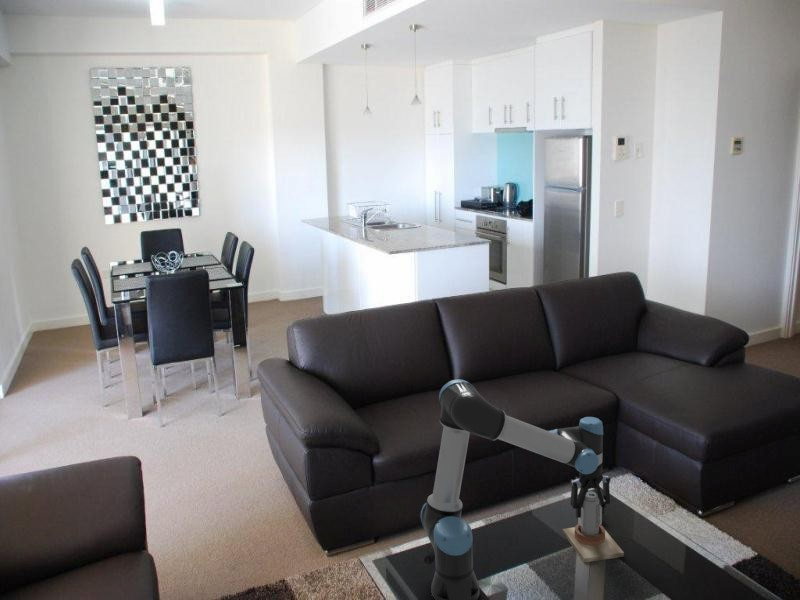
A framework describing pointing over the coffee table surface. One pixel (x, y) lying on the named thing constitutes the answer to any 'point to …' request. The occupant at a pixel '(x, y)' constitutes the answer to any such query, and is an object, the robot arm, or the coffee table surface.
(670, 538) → the coffee table surface
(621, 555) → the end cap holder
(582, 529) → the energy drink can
